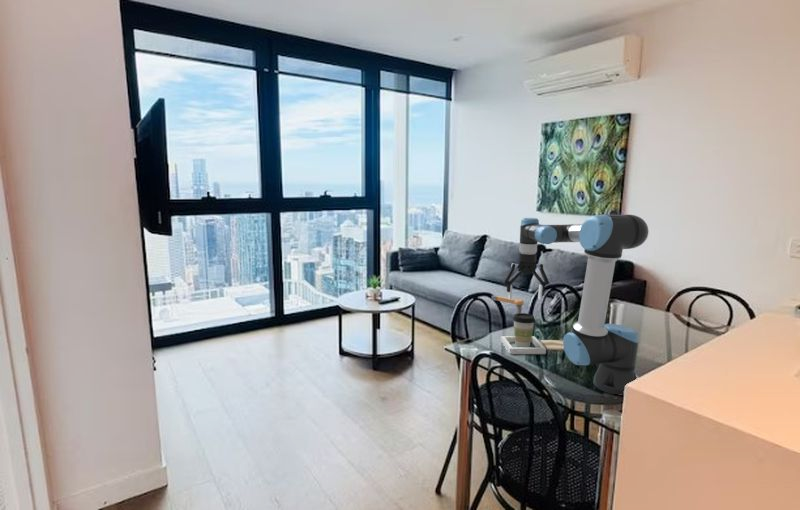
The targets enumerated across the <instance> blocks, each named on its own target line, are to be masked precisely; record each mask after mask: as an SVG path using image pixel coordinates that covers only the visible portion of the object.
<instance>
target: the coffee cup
mask: <svg viewBox="0 0 800 510" xmlns="http://www.w3.org/2000/svg"><path fill="white" fill-rule="evenodd" d="M512 321H513V332H514V333H513V336H515V342H514V343H515V345H514V346H515V347H531V343H532V342H531V338H532V336H533V331H534V326H535V325H534V324H535V323H536V319H535V316H534V315H532V314H530V313H524V312H521V313H518V314H516V313H515V314H514V315H513V317H512Z"/></svg>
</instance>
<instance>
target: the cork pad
mask: <svg viewBox="0 0 800 510" xmlns="http://www.w3.org/2000/svg"><path fill="white" fill-rule="evenodd" d="M539 342H540V343H541V344H542V345H543V346H544V347H545V348H546V350H548V351H550V352H555V351H558V352H560V351H561V352H562V351H563V352H565V350H564V346H563V339H540V340H539Z"/></svg>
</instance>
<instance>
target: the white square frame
mask: <svg viewBox="0 0 800 510" xmlns="http://www.w3.org/2000/svg"><path fill="white" fill-rule="evenodd" d="M522 307H523V305H515V308H516V309H515V314H518V313H522V309H523V308H522ZM500 342H501V344H502V343H503V344H502V345H503V347H504V346H505V347H504V348H505V349H506V351H507V350H508V351H507V353H508V354H509V353H510V354H509V355H547V348H546V347H545V346H544V345H543V344H542V343H541V342H540V340H539V339H537V337H536V336H533V335H532V338H531V342H530V343H532V344H533V346H534V347H531V346H530V347H513V346H512V345H511V344H510V343H515V336H514V335H502V336H500Z"/></svg>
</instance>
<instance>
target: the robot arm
mask: <svg viewBox="0 0 800 510" xmlns="http://www.w3.org/2000/svg"><path fill="white" fill-rule="evenodd" d="M649 232H650V231H649V226H648V224H647V223H646V221H645V220H644V219H643V218H642V217H640V216H638V215H635V214H599V215H598V214H597V215H596V214H595V215H591V216H589V217H587V219H585V220H584V221H583V223H571V224H540V220H539V218H537V217H523V218H522V219H521V221H520V227H519V234H520V235H519V249H518V251H519V253H518V261H517V262H518V263H514V262H512V263H511V264H510V268H509V269H508V271H507V272H506V275H505V277H504V279H503V280H502V283H503V284H504V285H506V292H507V293H508V295H507V298H509V299H510V300H512V299H513V298H512V297H513V285H512V284H513V283H514V282H515V281H516V279H518V278H519V277H520V275H522V274H528V275H529V274H533V275H534V277H535V279H536V280H537V281H538V282H539V283H540V284H538V291H537V293H538V294H537V298H538V300H539V301H542V299H543V293H544V292H545V287H546V286H547V285H550V281H549V279H548V276H547V274H546V272H545V270H544V264H543V263H541V262H539V263H537V252H538V243H539V244H542V245H551V244H554V243H579V244H580V246H581V247H582V249H584V254H585V256H586V257H587V262H586V263H587V264H586V269H585V270H586V271H585V275H584V282H583V288H582V294H581V300H580V306H579V307H580V308H579V314H578V320H577V321H575V322H573V324H572V328H571V332H570V331H568V332H567V333H566V334H564V336H563V339H562V340H563V346H564V350H565V351H564V353H565V355H566V357H567V359H568V360H569V361H570V362H571V363H572V364H574V365H576V366H589V365H597V364H599V366H598V368H597V370H596V371H595V374H594V376H593V385H594V386H595V388H597V389H598V390H600V391H602V392H605V393H608V394H610V395H614V394H622V395H623V391H624V386H625V385H626V384H627V383H629V382H631V381H633V380H635V379H636V378H637V379H638V377H637V373H636V361H637V355H638V346H639V334H638V332H637V331H636V330H634V329H633V328H630V327H628V326H625V325H620V324H615V323H606V317H607V311H608V306H609V300H610V295H611V289H612V283H613V277H614V273H615V267H616V262H617V261H618V260H620V259H621V258H622V256H623V250H629V249H630V250H631V249H636V248H638V247H640V246H642V245H643V244H644V243H645V242H646V241H647V239H648V237H649ZM536 268H537V269H539V272H540V274H541V275H540V276H541V277H542V278H541V277H540V276H539V274H538V272H537V271H536ZM515 269H517V270H516V271H515ZM514 271H515V273H514Z"/></svg>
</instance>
